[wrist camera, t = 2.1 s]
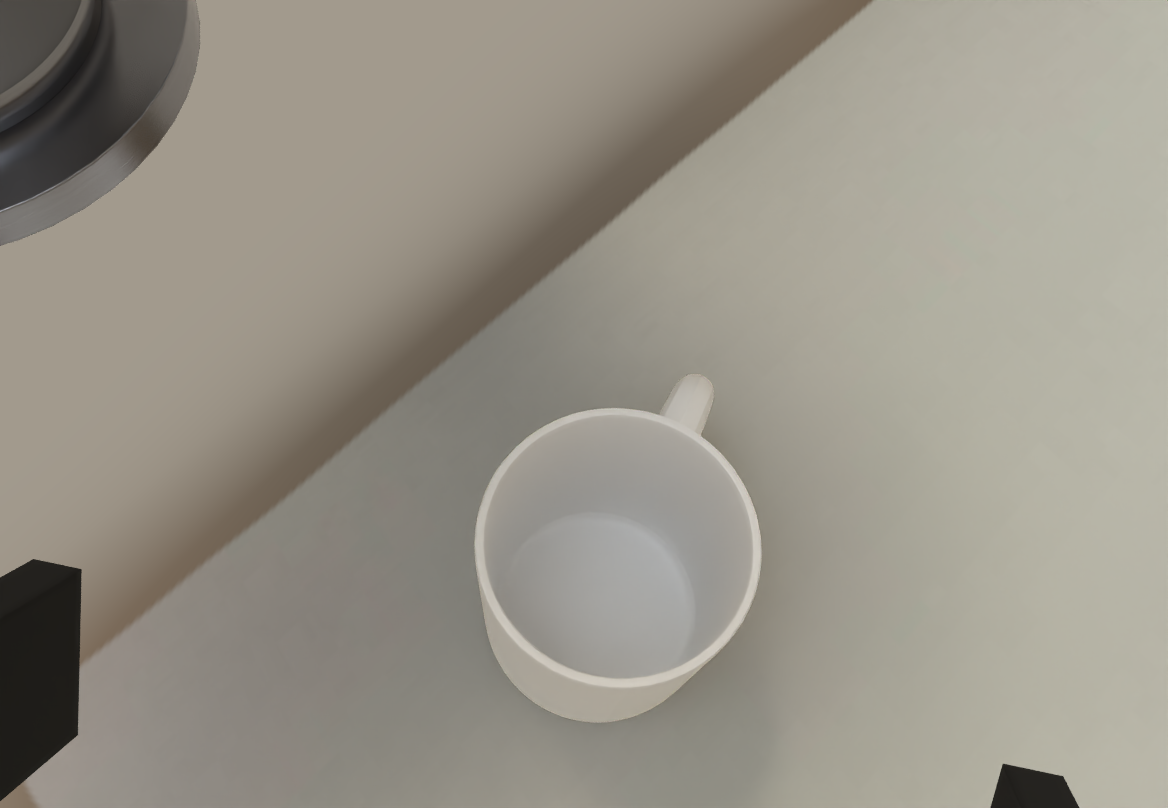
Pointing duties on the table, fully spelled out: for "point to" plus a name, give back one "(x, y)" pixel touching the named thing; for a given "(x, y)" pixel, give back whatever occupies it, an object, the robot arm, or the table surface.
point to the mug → (615, 557)
